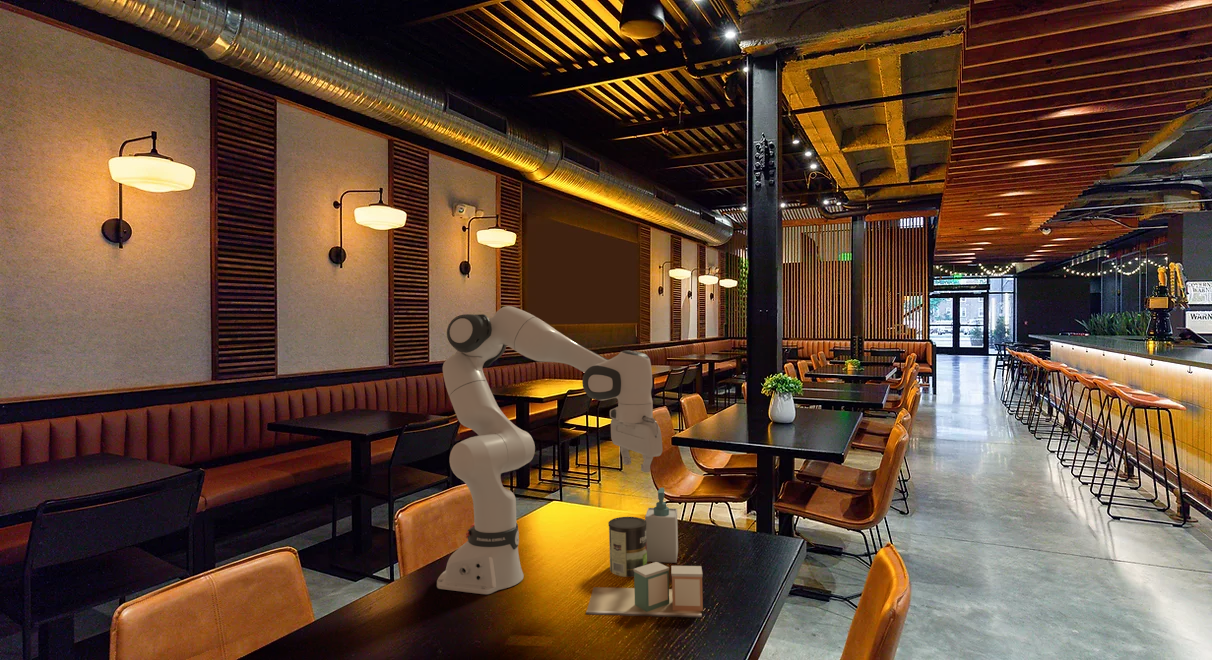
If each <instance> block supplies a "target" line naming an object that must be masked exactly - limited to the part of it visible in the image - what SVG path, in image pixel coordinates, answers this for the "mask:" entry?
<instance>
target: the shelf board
mask: <svg viewBox="0 0 1212 660" xmlns="http://www.w3.org/2000/svg"><path fill="white" fill-rule="evenodd" d="M585 615H599V616H604V615H605V616H631V617H632V616H634V617H636V616H637V617H638V616H639V617H666V618H667V617H668V618H669V617H670V618H671V617H672V618H673V617H675V618H678V617H679V618H703V615H702V611H679V610H673V599H672V588H669V604H667V605H664V606H661V607H659V608H656V609H653V610H651V611H648V612H646V611H644V610H643V609H641V608H639V607H638V606H636V605H635V589H634V587H602V586H601V587H598V586H597V587H593V588H592V593H591V596H590V599H589V603H588V605H587V610H586V611H585Z"/></svg>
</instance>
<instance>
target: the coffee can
mask: <svg viewBox="0 0 1212 660" xmlns="http://www.w3.org/2000/svg"><path fill="white" fill-rule="evenodd" d="M646 525H647V522H646V521H645V518H640V517H638V516H637V517H636V516H620V517H615V518H612V519H610V520H609V521H608V532H609V533H608V536H609V537H608V539H609V545H608V546H609V570H610V572H611V573H612V574H613V575H615V576H618V577H625V578H628V577H629V578H630V577H634V571H633V569H634V568H638V567H641V566H644V565H647V564H648V562H647V540H646Z"/></svg>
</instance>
